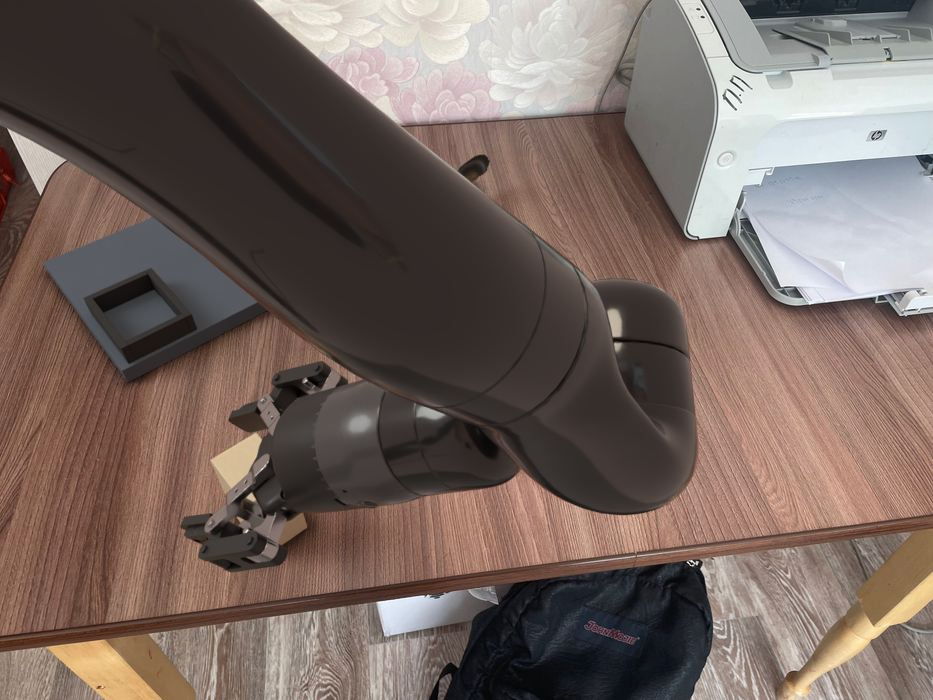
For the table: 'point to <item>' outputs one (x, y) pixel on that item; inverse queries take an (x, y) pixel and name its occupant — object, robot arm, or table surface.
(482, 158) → the eagle figurine
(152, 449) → the table surface
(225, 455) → the tan rectangular block
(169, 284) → the dark gray square slab
